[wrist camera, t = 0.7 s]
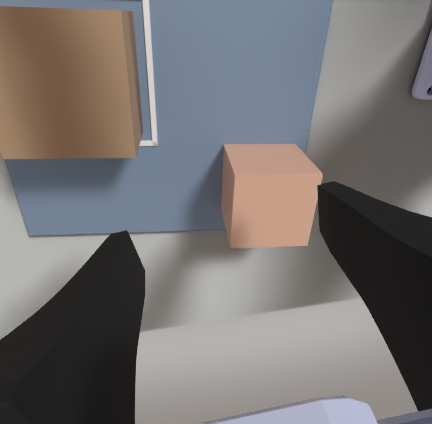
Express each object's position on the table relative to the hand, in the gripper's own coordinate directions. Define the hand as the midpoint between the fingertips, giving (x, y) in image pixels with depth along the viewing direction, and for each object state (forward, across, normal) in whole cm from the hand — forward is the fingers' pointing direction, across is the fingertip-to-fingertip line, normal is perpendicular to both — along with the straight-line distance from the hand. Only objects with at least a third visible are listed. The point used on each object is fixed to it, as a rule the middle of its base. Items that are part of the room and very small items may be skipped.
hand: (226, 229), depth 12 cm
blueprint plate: (+9, +2, -2) cm, 10 cm away
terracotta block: (+9, -3, +3) cm, 10 cm away
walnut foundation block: (+9, +6, -5) cm, 12 cm away
